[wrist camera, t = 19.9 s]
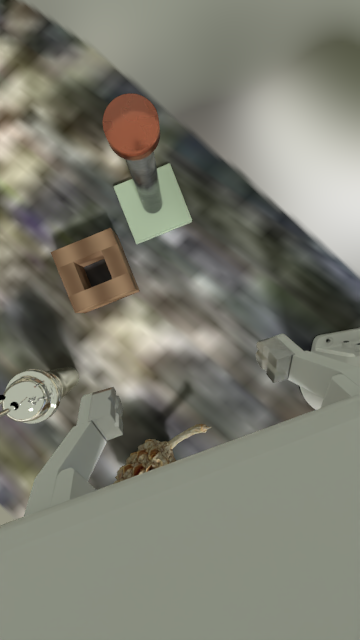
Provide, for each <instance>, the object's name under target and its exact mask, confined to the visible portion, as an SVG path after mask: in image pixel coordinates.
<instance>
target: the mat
mask: <svg viewBox="0 0 360 640" xmlns="http://www.w3.org/2000/svg"><path fill="white" fill-rule="evenodd" d="M157 174H158V179H159V185H160V191H161V197H162V208H161V209H160V211H158V212H157V213H153V214H152V213H148V212H146V211H145V210H144V208H143V206H142V203H141V200H140V197H139V195H138V192H137V189H136V187H135V184H134V181H133V179H130V180H128V181H126V182H123V183H121V184H118V185H116V186H113V187H114V189H115V192H116V194H117V197H118V199H119V202H120V204H121V207H122V209H123V212H124V214H125V217H126V219H127V222H128V224H129V227H130V229H131V232H132V234H133V237H134V239H135V242H136V244H139V243H142V242H144V241H146V240H149V239H151V238H154V237H156V236H159V235H161V234H164V233H166V232H169V231H171V230H174V229H176V228H178V227H181V226H183V225H186V224H188V223H191V222H192V219H191V216H190V214H189V211H188V208H187V206H186V203H185V201H184V198H183V196H182V193H181V191H180V188H179V186H178V183H177V181H176V178H175V175H174V173H173V170H172V168H171V165H170V163H169V164H167V165H164V166H162V167H159V168H157Z"/></svg>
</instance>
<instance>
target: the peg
mask: <svg viewBox="0 0 360 640" xmlns="http://www.w3.org/2000/svg"><path fill="white" fill-rule="evenodd" d="M103 129H104V133H105V135H106V137H107V140H108V142H109V144H110V146H111V148H112V150H113V151H114V152H115V153H116V154H117V155H118V156H120V157H121V158H124V159H126V162H127V165H128V168H129V170H130V173H131V176H132V178H133V181H134V184H135V187H136V189H137V192H138V195H139V197H140V200H141V203H142V206H143V208H144V210H145V211H146V212H148V213H152V214H153V213H157V212H158V211H160V209H161V208H162V197H161V191H160V185H159V179H158V174H157V168H156V162H155V157H154V150H155V149H156V147H157V145H158V142H159V139H160V127H159V119H158V114H157V111H156V109H155V107H154V106H153V104H152V103H151V102H150V101H149V100H148V99H146V98H145V97H143V96H141V95H138V94H124V95H121V96H118V97H117V98H115V99H114V100H112V101H111V102H110V104H109V105H108V106H107V108H106V110H105V112H104V116H103Z"/></svg>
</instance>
